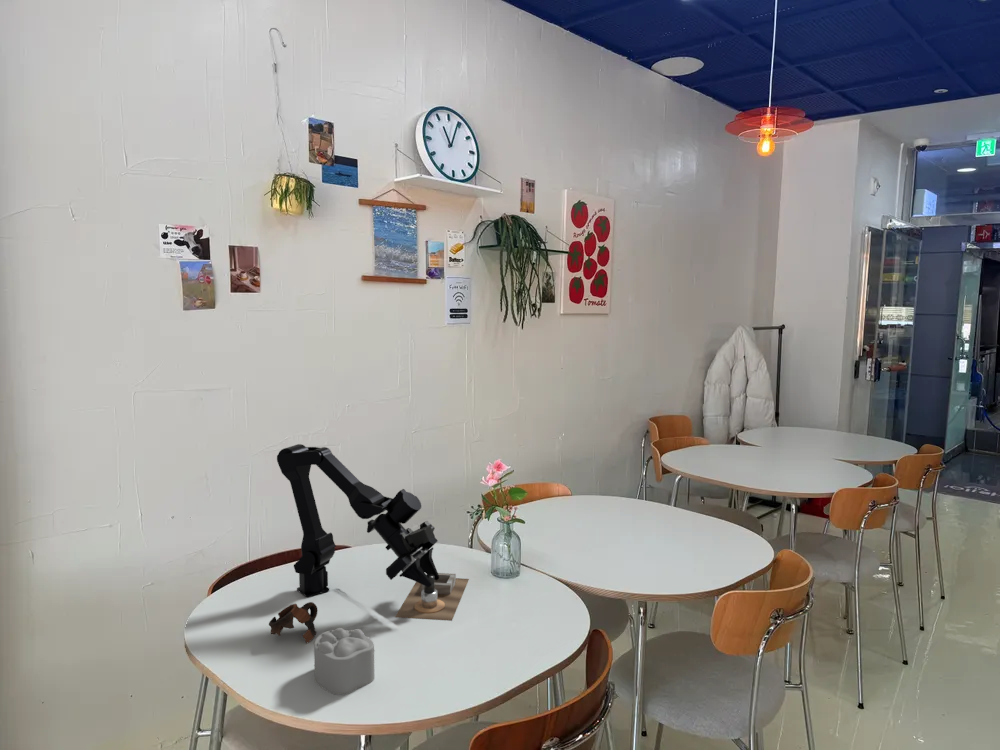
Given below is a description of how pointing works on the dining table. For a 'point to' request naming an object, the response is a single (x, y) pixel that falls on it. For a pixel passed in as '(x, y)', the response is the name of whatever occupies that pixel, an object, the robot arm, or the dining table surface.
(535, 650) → the dining table surface
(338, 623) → the dining table surface
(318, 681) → the grey paw block
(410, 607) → the brown wooden board
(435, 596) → the nail polish bottle
